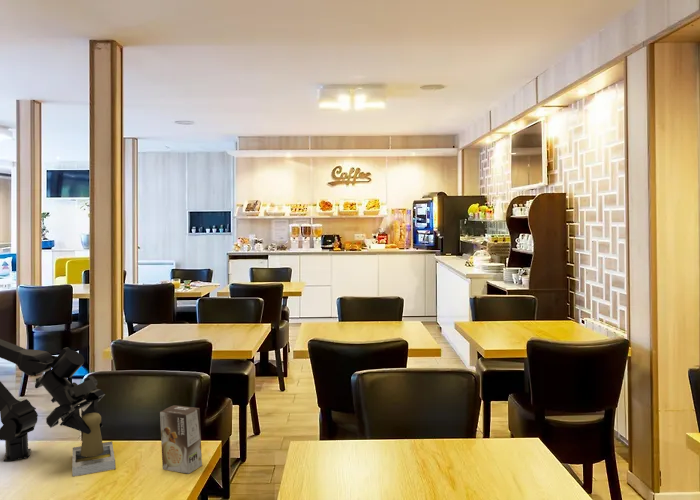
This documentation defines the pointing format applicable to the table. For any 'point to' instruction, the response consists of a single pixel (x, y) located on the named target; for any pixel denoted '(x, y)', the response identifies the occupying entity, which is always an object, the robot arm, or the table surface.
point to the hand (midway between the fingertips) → (95, 429)
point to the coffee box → (181, 438)
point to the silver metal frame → (93, 461)
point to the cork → (92, 436)
